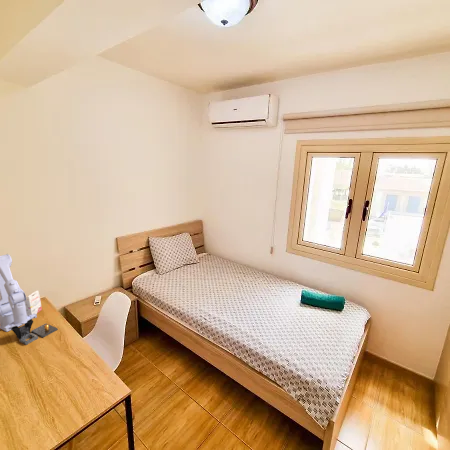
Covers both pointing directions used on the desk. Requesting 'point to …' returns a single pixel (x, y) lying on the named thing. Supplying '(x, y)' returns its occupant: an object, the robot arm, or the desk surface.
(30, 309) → the ink cartridge box
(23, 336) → the link
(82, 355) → the desk surface
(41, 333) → the frame
